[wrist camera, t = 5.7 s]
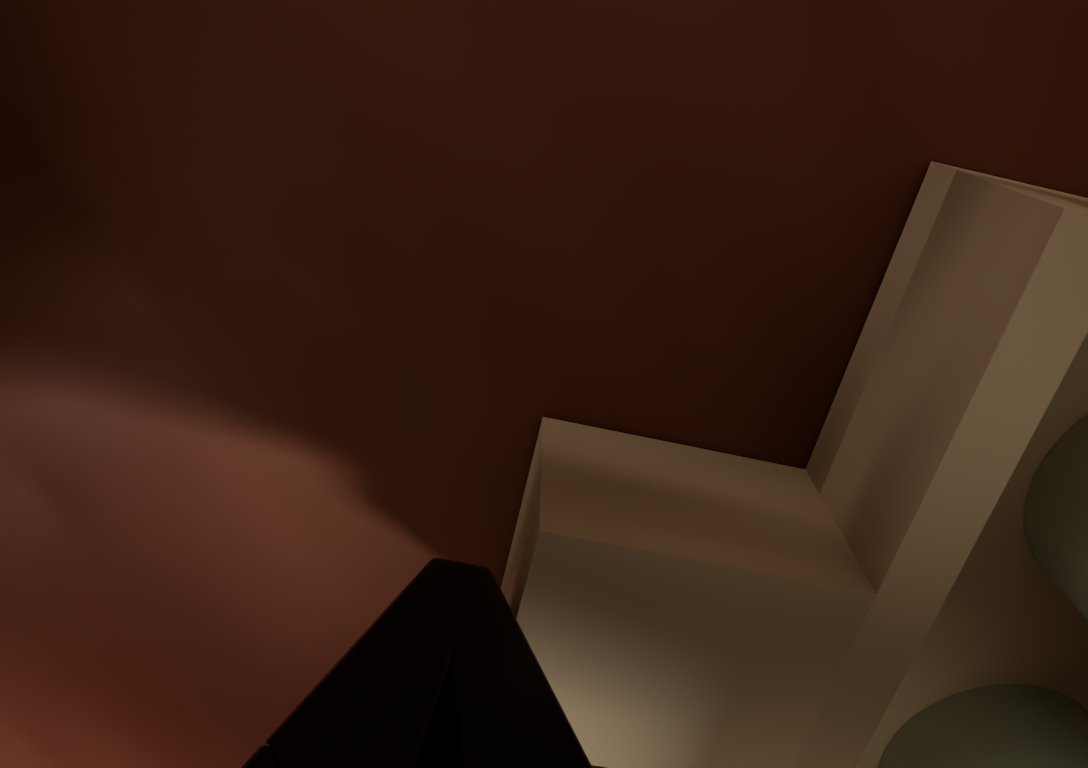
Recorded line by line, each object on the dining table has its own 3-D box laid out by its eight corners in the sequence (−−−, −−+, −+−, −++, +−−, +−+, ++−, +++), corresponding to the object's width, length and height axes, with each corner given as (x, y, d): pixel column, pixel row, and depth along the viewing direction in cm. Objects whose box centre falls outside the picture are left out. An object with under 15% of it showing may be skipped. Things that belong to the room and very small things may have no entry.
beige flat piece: (1105, 900, 14) (1214, 1073, 12) (450, 794, 13) (427, 959, 11) (1569, 310, 9) (1896, 401, 7) (622, 88, 8) (648, 110, 6)
